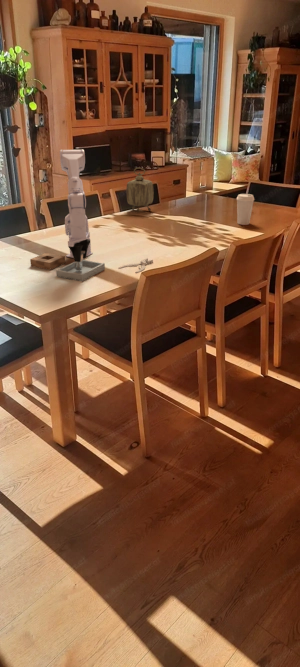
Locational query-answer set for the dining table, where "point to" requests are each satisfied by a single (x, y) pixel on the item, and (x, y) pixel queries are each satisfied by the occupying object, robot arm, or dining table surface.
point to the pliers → (143, 263)
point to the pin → (80, 264)
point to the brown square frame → (47, 261)
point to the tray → (80, 275)
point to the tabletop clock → (139, 191)
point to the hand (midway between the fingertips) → (80, 259)
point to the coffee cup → (244, 208)
